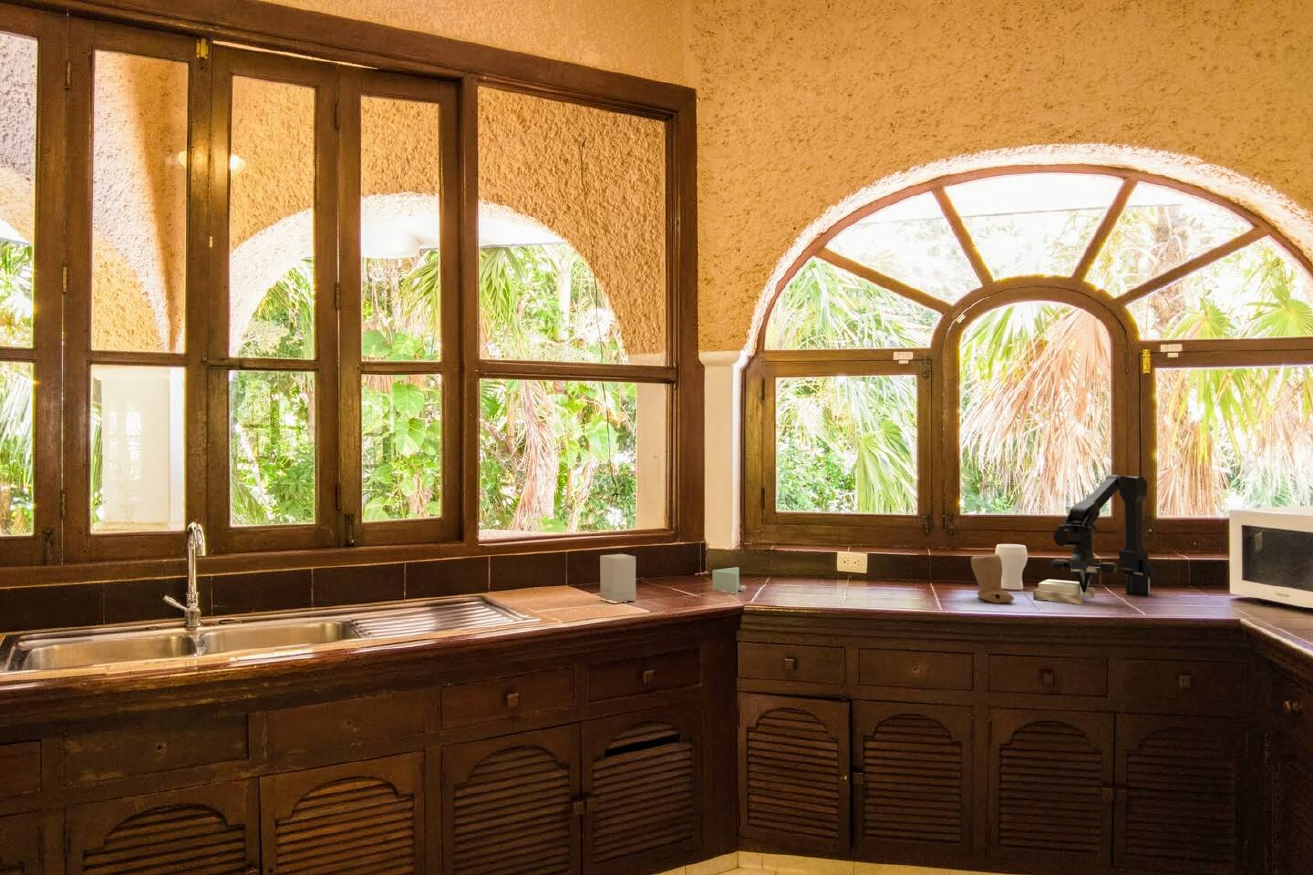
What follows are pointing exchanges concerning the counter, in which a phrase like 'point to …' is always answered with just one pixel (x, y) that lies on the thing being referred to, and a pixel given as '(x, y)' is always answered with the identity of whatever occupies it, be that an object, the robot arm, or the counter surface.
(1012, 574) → the cup
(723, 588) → the sage green wedge block
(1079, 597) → the tan tray
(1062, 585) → the carton
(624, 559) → the supplement box
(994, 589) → the brown boot
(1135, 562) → the robot arm
